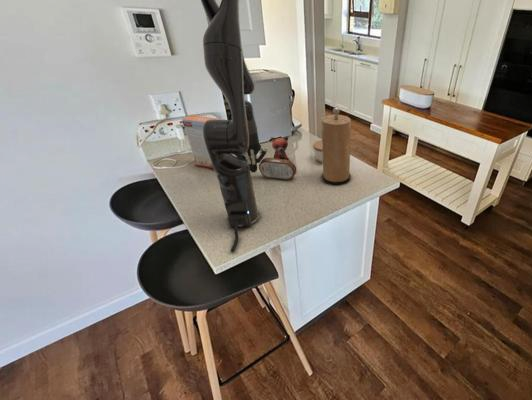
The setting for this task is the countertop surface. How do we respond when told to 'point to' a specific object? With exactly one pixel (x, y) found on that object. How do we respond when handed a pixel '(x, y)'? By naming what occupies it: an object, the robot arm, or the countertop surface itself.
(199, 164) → the cracker box
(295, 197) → the countertop surface
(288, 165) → the tin
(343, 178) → the paper towel roll
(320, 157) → the trinket box
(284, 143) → the stuffed fox
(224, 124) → the robot arm
